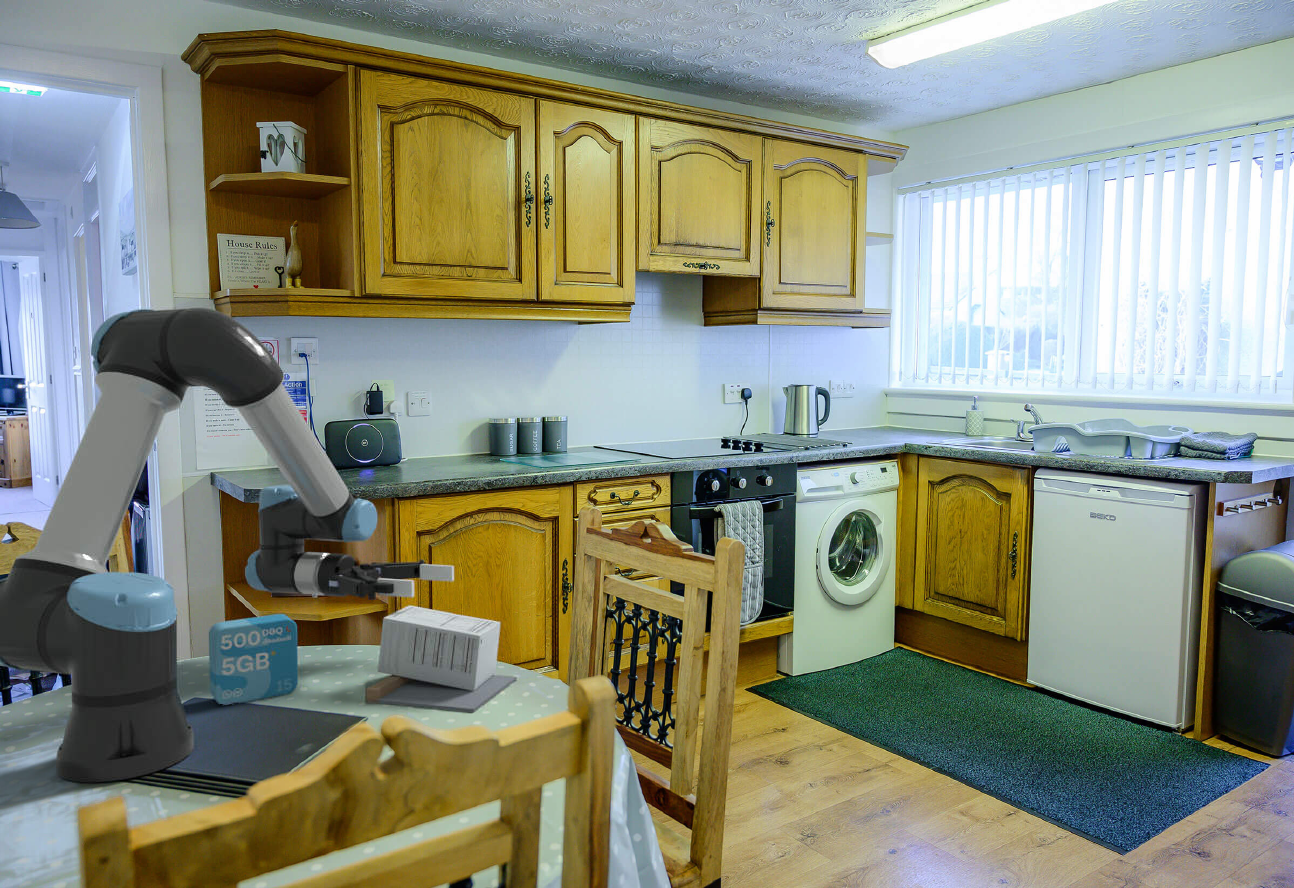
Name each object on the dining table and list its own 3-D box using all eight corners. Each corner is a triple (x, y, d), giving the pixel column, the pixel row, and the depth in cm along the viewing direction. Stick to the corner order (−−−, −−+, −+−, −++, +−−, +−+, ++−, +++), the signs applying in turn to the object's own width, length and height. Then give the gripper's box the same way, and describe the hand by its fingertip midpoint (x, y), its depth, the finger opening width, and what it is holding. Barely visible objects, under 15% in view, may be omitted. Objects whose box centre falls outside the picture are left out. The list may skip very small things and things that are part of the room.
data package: (215, 708, 132) (214, 629, 131) (209, 700, 135) (208, 623, 135) (298, 692, 139) (297, 617, 138) (290, 685, 142) (289, 612, 142)
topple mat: (366, 701, 134) (366, 688, 134) (419, 671, 150) (418, 659, 150) (473, 712, 130) (473, 698, 130) (516, 679, 145) (516, 667, 145)
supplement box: (375, 673, 141) (473, 693, 137) (381, 617, 140) (479, 636, 136) (404, 656, 150) (496, 674, 146) (410, 603, 149) (502, 621, 146)
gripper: (368, 581, 169) (468, 587, 163) (281, 610, 145) (394, 619, 139) (368, 543, 169) (467, 548, 163) (280, 566, 145) (393, 572, 139)
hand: (434, 580), depth 151 cm, fingers open, 13 cm apart
